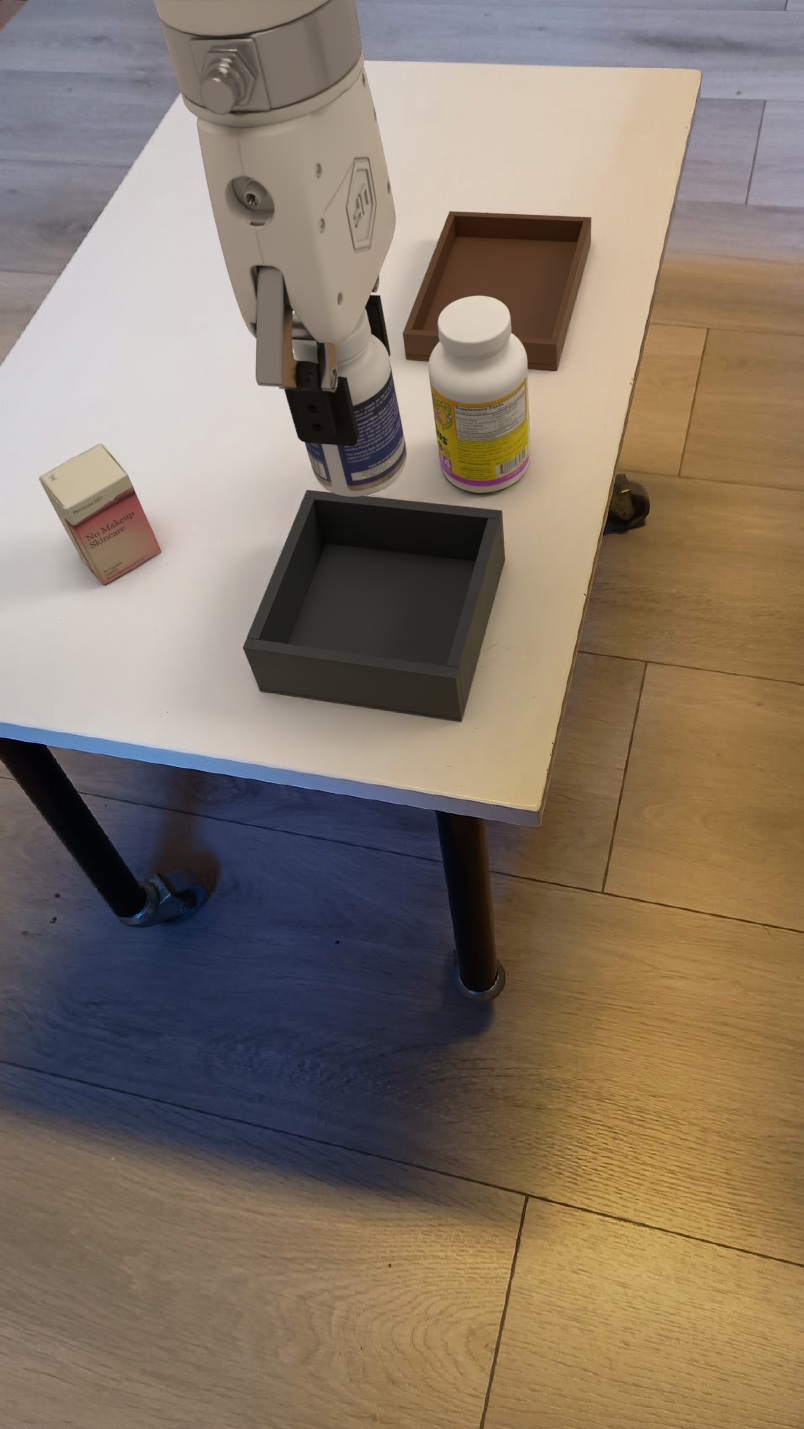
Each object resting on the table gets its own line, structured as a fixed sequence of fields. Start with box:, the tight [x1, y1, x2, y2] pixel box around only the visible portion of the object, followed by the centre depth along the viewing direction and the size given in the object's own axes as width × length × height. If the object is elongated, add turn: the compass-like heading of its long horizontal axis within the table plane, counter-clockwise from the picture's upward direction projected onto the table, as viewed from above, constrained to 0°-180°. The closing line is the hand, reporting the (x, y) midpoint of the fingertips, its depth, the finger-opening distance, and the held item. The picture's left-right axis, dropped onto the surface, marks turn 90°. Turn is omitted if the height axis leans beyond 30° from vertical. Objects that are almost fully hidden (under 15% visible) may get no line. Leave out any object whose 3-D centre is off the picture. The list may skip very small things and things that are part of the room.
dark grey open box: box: [242, 489, 506, 723], centre depth 73 cm, size 14×14×5 cm
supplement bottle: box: [427, 296, 531, 494], centre depth 76 cm, size 7×7×13 cm
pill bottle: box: [292, 308, 408, 497], centre depth 58 cm, size 5×5×10 cm
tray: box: [402, 210, 592, 371], centre depth 91 cm, size 16×12×2 cm
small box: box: [38, 443, 162, 585], centre depth 78 cm, size 5×4×8 cm
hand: (345, 396), depth 58 cm, fingers closed on pill bottle, 5 cm apart
